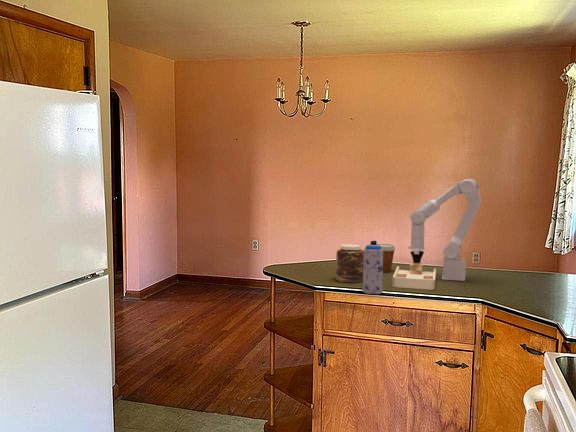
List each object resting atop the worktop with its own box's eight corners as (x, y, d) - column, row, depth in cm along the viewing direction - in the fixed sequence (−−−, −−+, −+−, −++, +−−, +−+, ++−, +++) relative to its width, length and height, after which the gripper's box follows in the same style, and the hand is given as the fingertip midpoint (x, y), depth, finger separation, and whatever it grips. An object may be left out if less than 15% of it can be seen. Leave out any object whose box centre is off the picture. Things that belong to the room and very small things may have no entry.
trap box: (435, 277, 234) (435, 268, 233) (434, 290, 211) (435, 280, 211) (397, 275, 239) (397, 266, 238) (392, 287, 216) (392, 277, 215)
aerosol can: (377, 294, 203) (379, 243, 201) (359, 292, 207) (360, 241, 205) (385, 290, 209) (387, 240, 207) (367, 288, 213) (368, 238, 211)
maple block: (421, 272, 233) (422, 263, 232) (421, 274, 228) (421, 265, 228) (410, 271, 234) (410, 262, 234) (409, 273, 229) (409, 264, 229)
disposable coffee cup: (388, 273, 241) (389, 247, 240) (370, 270, 247) (371, 245, 246) (397, 270, 249) (398, 245, 248) (379, 267, 255) (380, 243, 253)
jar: (355, 276, 236) (355, 242, 235) (368, 281, 225) (369, 246, 224) (331, 278, 232) (331, 244, 230) (344, 283, 221) (344, 248, 219)
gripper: (409, 235, 245) (408, 264, 246) (407, 239, 231) (406, 270, 232) (425, 235, 243) (424, 264, 244) (424, 240, 229) (423, 271, 230)
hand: (416, 267), depth 238 cm, fingers closed
